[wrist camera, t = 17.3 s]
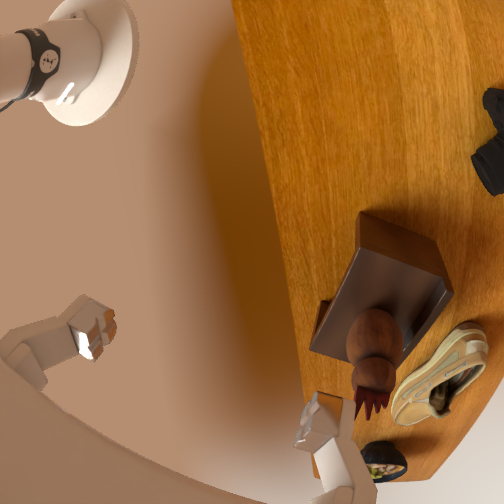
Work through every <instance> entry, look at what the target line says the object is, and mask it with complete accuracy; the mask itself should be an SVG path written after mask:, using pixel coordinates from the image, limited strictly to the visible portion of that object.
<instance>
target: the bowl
mask: <svg viewBox="0 0 504 504" xmlns="http://www.w3.org/2000/svg"><path fill="white" fill-rule="evenodd" d="M360 453H361V455H362V457H363V460H364V462H365V464H366V466H367V468H368V470H369V473H370V475H371V477H372V479H373V481H374V483H383V482H388V481H391V480H394V479H396V478H398V477H400V476H402V475H403V474H404V473H406V471H407V462H406V459H405V457H404V456H403V455H402V454H401V452H400V451H398V450H397V449H396V448H395V447H394V445H393V444H392V443H390V442H385V441H378V442H372V443H369V444H367V445H366V446H365V447H364V448H363V450H361V451H360Z"/></svg>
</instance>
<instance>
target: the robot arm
mask: <svg viewBox="0 0 504 504" xmlns="http://www.w3.org/2000/svg"><path fill="white" fill-rule="evenodd" d="M101 56H102V43H101V38H100V35H99V32H98V30H97V29H96V27H95V26H94V25H93V24H92V23H91V22H90V21H89V20H88V17H87V14H86V12H85V11H84V10H78V11H75V12H73V13H71V14H69V15H67V16H64V17H62V18H60V19H52V20H48V21H47V22H46V23H44V24H42V25H41V26H39V27H37V28H36V29H24V30H19V31H17V32H15V33H13V34H7V35H0V103H3V102H6V101H9V100H11V101H10V102H9V103H8V104H7V105H6V106H5V107H3V108H2V109H0V112H2V111H3V110H5V109H6V108H8V107H9V106H10V105H11V104H12V103H13V102H14V101H17V100H24V99H27V98H29V99H30V100H36V101H38V102H39V101H40V102H46V101H51V100H57V101H58V102H57V104H60V103H61V102H62V103H65V104H67V105H71V104H74V103H75V102H76V100H77V98H78V96H79V94H80V93H81V92H82V91H83V90H84V89H85V88H86V87H88V86H89V84H90V83H91V82H92V81H93V79H94V77H95V76H96V73H97V71H98V69H99V65H100V62H101ZM114 316H115V314H114V310H112V309H110V308H109V307H107V306H105V305H103V304H101V303H99V302H97V301H96V300H94V299H92V298H90V297H88V296H87V295H85V294H83V295H80V296H79V297H78V298H77V299H76V300H75V301H74V302H73V303H72V304H71V305H70V306H69V307H68V308H67V309H66V310H65V311H64V312H63V313H62V314H61V315H60V316H59V317H58V318H57V317H51V318H48V319H45V320H41V321H38V322H35V323H31V324H28V325H25V326H21V327H18V328H15V329H12V330H10V331H9V332H8V333H7V334H6V335H5V336H4V337H3V338H2V339H1V340H0V504H266V503H262V502H259V501H255V500H252V499H248V498H245V497H242V496H239V495H236V494H232V493H229V492H226V491H223V490H220V489H218V488H215V487H212V486H209V485H207V484H204V483H202V482H199V481H196V480H194V479H192V478H189V477H187V476H184V475H182V474H180V473H177V472H175V471H173V470H170V469H168V468H166V467H164V466H161V465H159V464H157V463H155V462H153V461H151V460H149V459H147V458H145V457H143V456H141V455H139V454H137V453H135V452H134V451H132V450H130V449H128V448H126V447H124V446H122V445H121V444H119V443H117V442H115V441H114V440H112V439H110V438H108V437H107V436H105V435H103V434H102V433H100V432H98V431H97V430H95V429H93V428H92V427H90V426H89V425H87V424H86V423H84V422H82V421H81V420H79V419H78V418H76V417H75V416H74V415H72V414H70V413H69V412H68V411H66V410H65V409H63V408H62V407H60V406H59V405H58V404H56V403H55V402H54V401H52V400H51V399H50V398H48V397H47V396H46V395H44V394H43V393H42V392H41V391H42V389H43V388H44V387H45V385H46V384H47V383H48V380H47V378H46V376H45V374H44V372H43V371H44V370H46V369H48V368H50V367H52V366H54V365H57V364H59V363H61V362H63V361H65V360H67V359H70V358H72V357H74V356H76V355H78V353H79V354H81V355H82V356H84V357H86V358H88V359H89V360H91V361H93V362H95V361H96V360H97V359H98V357H99V356H100V355H101V353H102V352H103V346H104V345H107V344H110V342H111V341H112V339H113V338H114V336H115V334H116V329H117V326H116V323H115V321H114V320H113V317H114ZM355 409H356V403H355V401H352V400H348V399H344V398H342V397H338V396H334V395H330V394H327V393H323V392H319V391H316V392H315V393H314V394H313V397H312V400H310V401H308V403H307V404H306V406H305V408H304V410H303V413H302V415H301V419H300V425H301V428H300V429H299V431H298V432H297V434H296V438H295V442H294V446H293V447H294V448H297V449H301V450H304V451H308V452H311V453H314V458H315V461H316V464H317V467H318V471H319V474H320V477H321V480H322V484H323V487H324V490H325V493H324V494H322V495H320V496H318V497H316V498H314V499H312V500H311V501H310V504H376V497H377V488H376V486H375V484H374V481H373V479H372V477H371V475H370V473H369V470H368V468H367V466H366V464H365V462H364V460H363V457H362V455H361V453H360V451H359V449H358V447H357V444H356V442H355V441H352V433H353V426H354V417H355Z"/></svg>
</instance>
